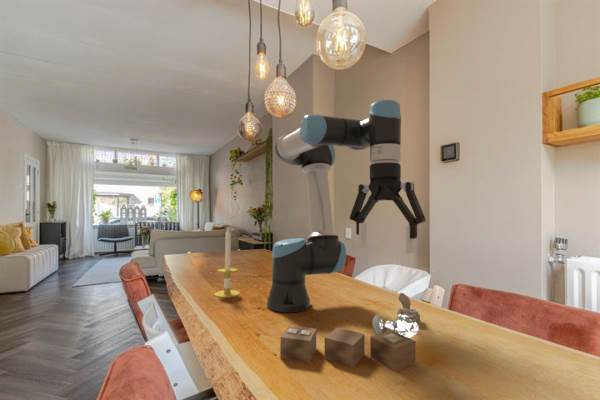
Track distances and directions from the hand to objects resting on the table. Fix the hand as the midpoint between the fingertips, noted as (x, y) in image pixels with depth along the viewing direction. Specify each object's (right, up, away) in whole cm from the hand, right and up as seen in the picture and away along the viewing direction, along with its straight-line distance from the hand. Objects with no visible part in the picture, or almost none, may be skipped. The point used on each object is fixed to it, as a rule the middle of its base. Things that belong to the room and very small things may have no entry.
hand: (384, 250), depth 76 cm
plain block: (-11, -24, -5) cm, 27 cm away
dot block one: (0, -24, -6) cm, 25 cm away
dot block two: (-21, -24, -4) cm, 33 cm away
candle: (-50, -25, +45) cm, 72 cm away
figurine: (+5, -25, +7) cm, 26 cm away
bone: (+12, -25, +16) cm, 32 cm away
